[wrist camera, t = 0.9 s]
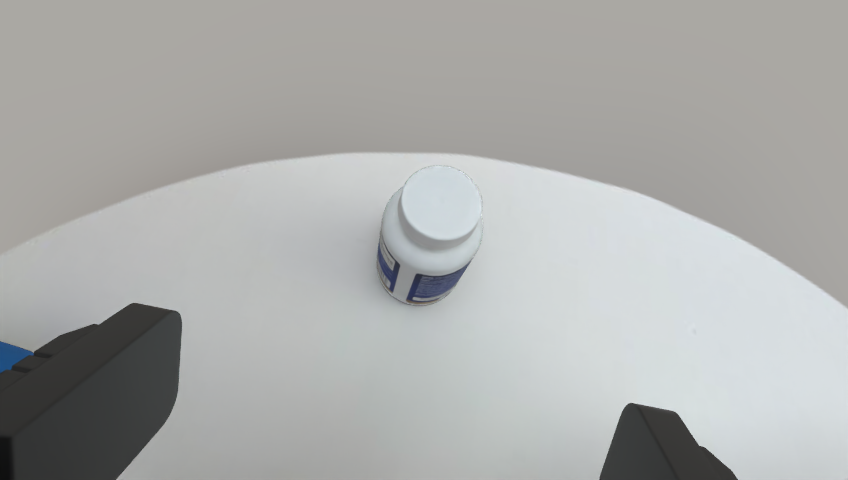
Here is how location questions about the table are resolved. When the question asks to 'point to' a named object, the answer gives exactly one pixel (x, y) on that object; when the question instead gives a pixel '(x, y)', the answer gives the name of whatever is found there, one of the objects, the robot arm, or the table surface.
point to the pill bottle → (429, 235)
